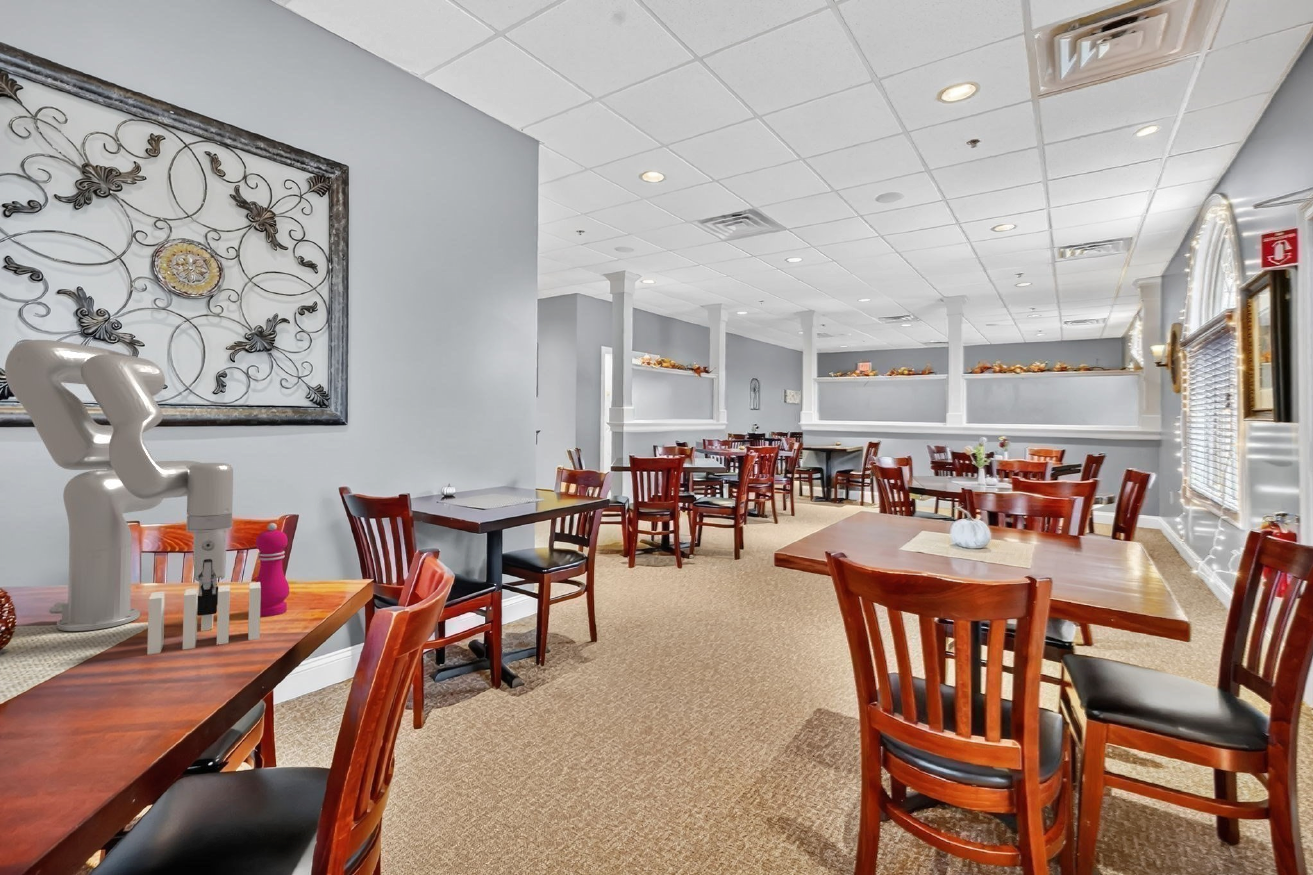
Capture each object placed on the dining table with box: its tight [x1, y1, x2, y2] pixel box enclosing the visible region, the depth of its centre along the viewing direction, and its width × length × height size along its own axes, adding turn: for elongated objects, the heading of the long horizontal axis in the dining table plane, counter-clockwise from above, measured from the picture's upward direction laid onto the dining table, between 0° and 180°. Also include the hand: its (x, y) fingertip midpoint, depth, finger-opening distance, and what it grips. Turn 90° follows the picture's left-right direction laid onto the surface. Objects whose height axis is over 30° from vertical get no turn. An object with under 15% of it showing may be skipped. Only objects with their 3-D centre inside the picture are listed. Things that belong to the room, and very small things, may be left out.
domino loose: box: [200, 576, 214, 632], centre depth 123 cm, size 2×5×10 cm, turn 35°
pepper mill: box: [254, 522, 290, 617], centre depth 134 cm, size 7×7×20 cm
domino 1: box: [146, 591, 166, 656], centre depth 110 cm, size 2×5×10 cm, turn 35°
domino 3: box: [216, 584, 231, 646], centre depth 116 cm, size 2×5×10 cm, turn 35°
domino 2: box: [182, 587, 199, 651], centre depth 113 cm, size 2×5×10 cm, turn 35°
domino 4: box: [247, 582, 261, 641], centre depth 119 cm, size 2×5×10 cm, turn 35°
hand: (207, 609), depth 123 cm, fingers open, 5 cm apart
